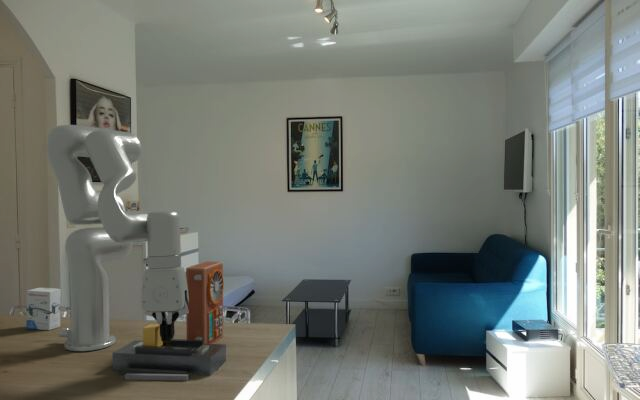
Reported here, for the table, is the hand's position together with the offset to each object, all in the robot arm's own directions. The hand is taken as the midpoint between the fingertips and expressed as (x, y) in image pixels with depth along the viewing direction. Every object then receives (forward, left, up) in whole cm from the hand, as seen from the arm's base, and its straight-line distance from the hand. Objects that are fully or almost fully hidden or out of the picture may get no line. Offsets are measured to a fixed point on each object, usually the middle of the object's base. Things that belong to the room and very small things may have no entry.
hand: (167, 339), depth 121 cm
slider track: (+1, 0, -6) cm, 6 cm away
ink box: (-53, +26, -6) cm, 60 cm away
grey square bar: (+2, -9, -6) cm, 11 cm away
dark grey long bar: (0, -7, -6) cm, 9 cm away
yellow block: (-4, 0, -2) cm, 4 cm away
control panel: (+2, +19, -6) cm, 20 cm away
